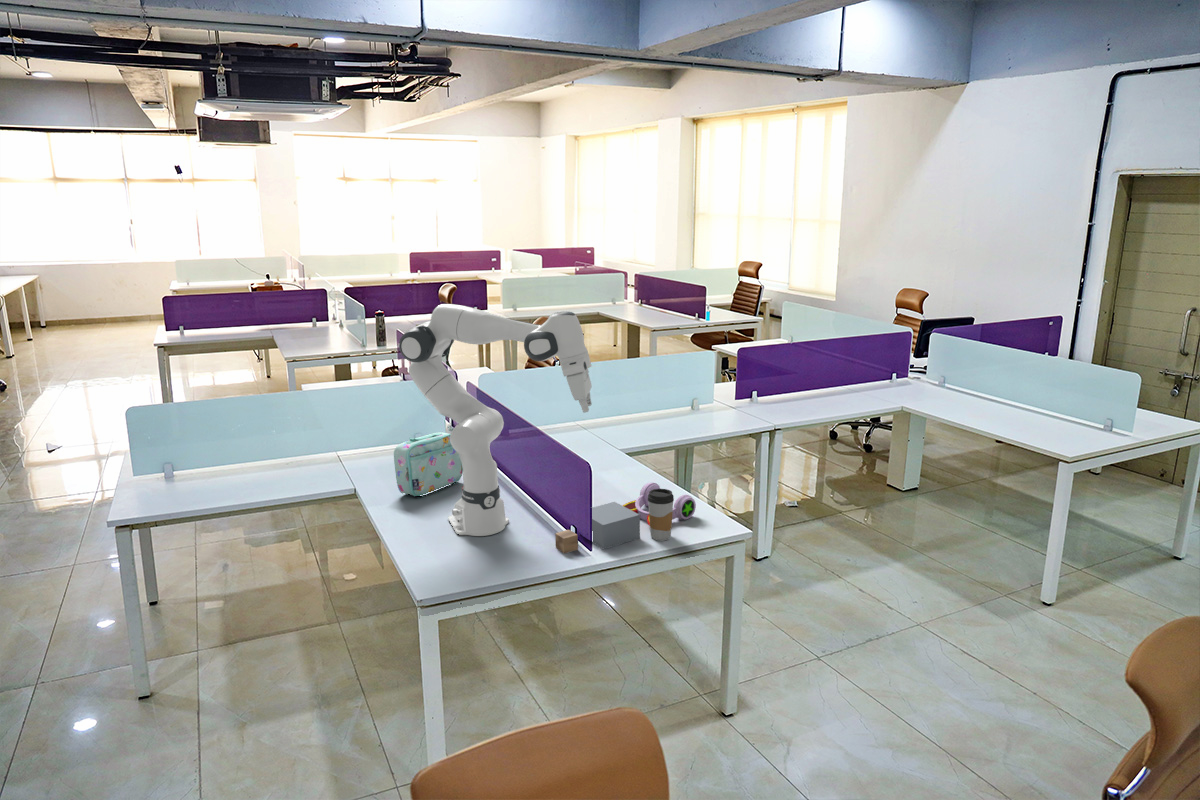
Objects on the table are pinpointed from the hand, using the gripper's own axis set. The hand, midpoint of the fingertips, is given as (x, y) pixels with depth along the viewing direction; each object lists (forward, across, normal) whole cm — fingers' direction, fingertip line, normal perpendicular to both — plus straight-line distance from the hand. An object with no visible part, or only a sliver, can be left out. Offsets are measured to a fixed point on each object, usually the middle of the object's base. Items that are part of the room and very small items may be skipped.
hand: (587, 408), depth 244 cm
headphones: (+46, -27, +9) cm, 54 cm away
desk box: (+44, -10, -5) cm, 45 cm away
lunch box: (+24, -50, -72) cm, 91 cm away
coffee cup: (+48, -10, +11) cm, 50 cm away
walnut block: (+41, 0, -18) cm, 45 cm away
